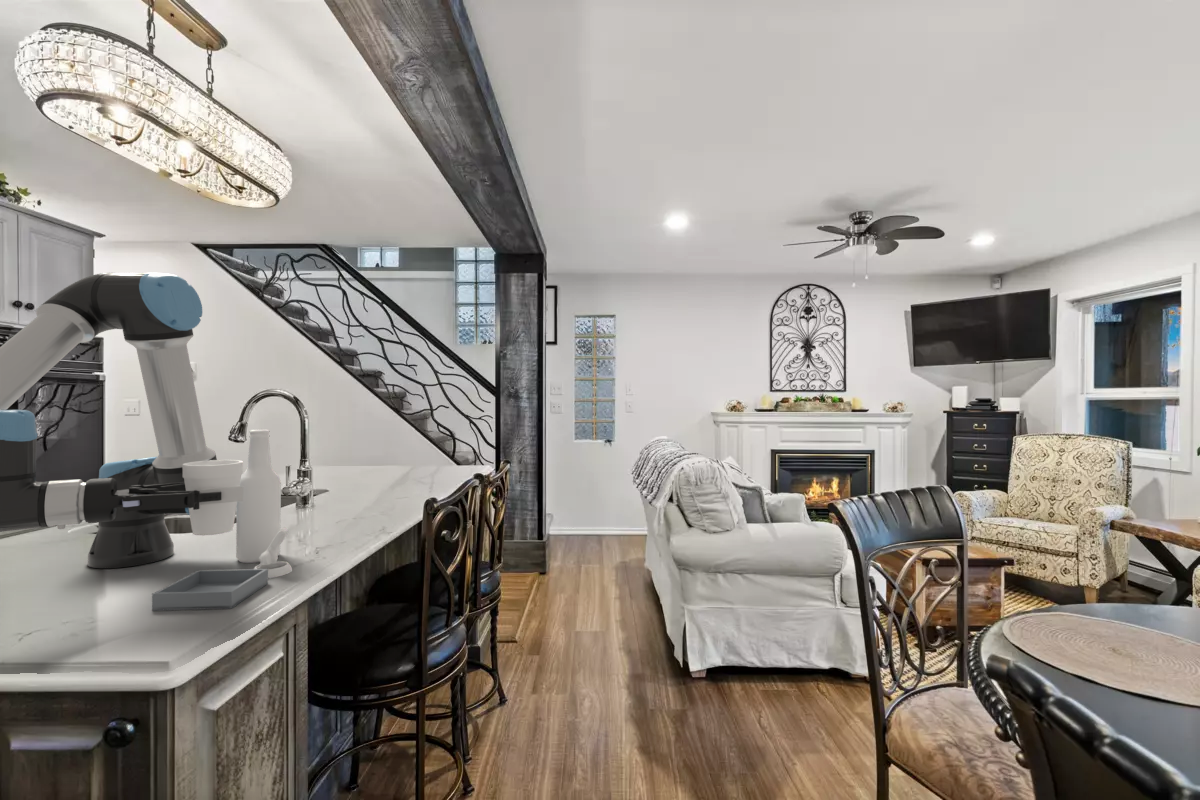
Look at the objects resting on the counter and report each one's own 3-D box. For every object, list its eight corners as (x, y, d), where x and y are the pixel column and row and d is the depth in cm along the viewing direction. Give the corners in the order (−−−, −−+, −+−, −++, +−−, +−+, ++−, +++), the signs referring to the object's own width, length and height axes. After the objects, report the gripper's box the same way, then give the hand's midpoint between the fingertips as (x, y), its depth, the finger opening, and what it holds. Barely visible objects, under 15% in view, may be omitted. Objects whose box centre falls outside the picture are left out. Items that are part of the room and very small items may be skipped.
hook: (300, 554, 115) (270, 537, 114) (271, 597, 117) (240, 581, 115) (316, 537, 122) (287, 521, 121) (287, 578, 124) (259, 562, 123)
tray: (198, 585, 111) (198, 570, 111) (267, 583, 112) (267, 568, 112) (152, 610, 98) (152, 593, 98) (231, 608, 99) (231, 591, 99)
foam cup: (252, 530, 106) (252, 462, 106) (196, 540, 98) (196, 467, 98) (228, 523, 111) (228, 458, 111) (173, 532, 103) (174, 463, 103)
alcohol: (231, 565, 124) (232, 431, 123) (241, 554, 132) (242, 429, 132) (276, 561, 127) (277, 430, 127) (283, 551, 135) (284, 428, 135)
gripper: (94, 511, 103) (238, 499, 116) (72, 537, 85) (245, 519, 98) (95, 471, 103) (238, 464, 116) (72, 488, 85) (245, 477, 98)
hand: (241, 489), depth 107 cm, fingers closed on foam cup, 9 cm apart
